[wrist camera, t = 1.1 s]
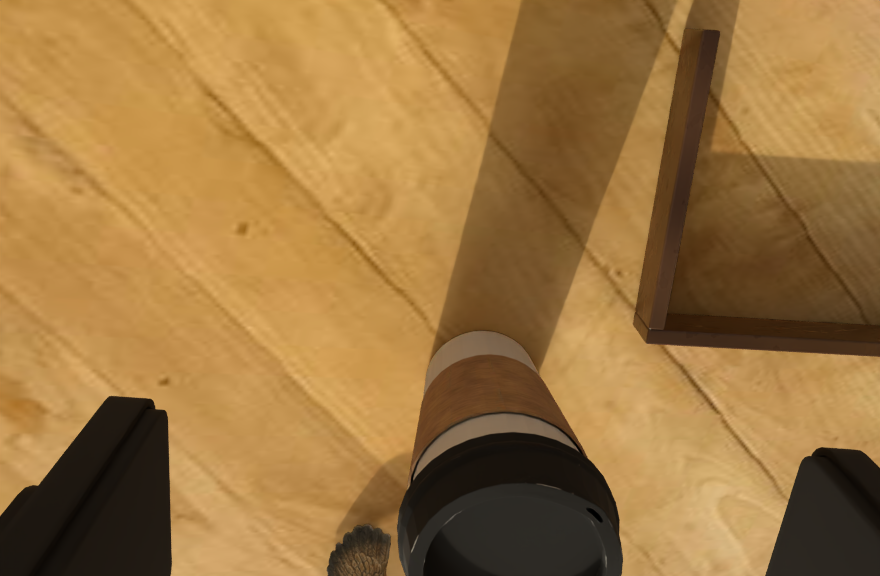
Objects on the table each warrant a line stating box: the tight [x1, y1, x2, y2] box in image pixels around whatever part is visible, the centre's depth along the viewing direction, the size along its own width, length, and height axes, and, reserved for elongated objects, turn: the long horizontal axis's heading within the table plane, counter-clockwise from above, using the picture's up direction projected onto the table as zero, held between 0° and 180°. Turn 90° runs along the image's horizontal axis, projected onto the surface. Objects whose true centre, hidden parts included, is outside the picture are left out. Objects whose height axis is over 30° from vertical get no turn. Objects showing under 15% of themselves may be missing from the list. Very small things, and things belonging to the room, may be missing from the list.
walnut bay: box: [633, 29, 880, 357], centre depth 37 cm, size 15×19×2 cm
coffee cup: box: [397, 331, 623, 576], centre depth 33 cm, size 8×8×15 cm
